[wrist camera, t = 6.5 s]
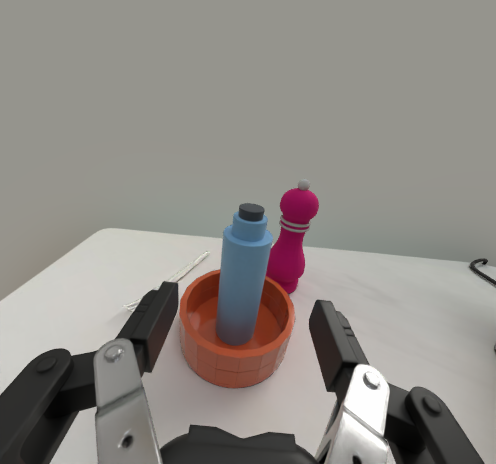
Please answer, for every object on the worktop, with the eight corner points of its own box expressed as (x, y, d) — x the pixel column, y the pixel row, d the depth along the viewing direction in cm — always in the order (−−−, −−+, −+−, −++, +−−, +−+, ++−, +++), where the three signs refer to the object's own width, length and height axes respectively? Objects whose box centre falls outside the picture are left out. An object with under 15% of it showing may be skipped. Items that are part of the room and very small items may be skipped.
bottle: (234, 307, 33) (249, 196, 25) (261, 328, 30) (288, 211, 22) (207, 327, 29) (214, 203, 21) (235, 354, 26) (255, 222, 18)
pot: (234, 282, 39) (237, 257, 36) (304, 333, 31) (314, 305, 28) (159, 328, 28) (156, 298, 26) (235, 422, 20) (241, 391, 18)
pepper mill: (264, 268, 44) (283, 171, 35) (298, 275, 43) (326, 178, 34) (258, 290, 38) (279, 179, 29) (298, 300, 37) (333, 188, 28)
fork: (214, 256, 46) (215, 249, 45) (138, 324, 29) (137, 314, 28) (202, 252, 47) (202, 244, 46) (121, 315, 30) (119, 305, 29)
